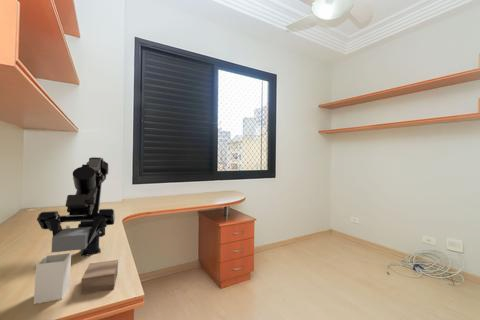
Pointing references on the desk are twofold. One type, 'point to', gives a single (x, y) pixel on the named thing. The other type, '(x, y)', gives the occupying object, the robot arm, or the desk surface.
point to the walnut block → (99, 277)
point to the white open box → (52, 277)
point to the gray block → (71, 239)
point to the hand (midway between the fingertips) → (72, 244)
